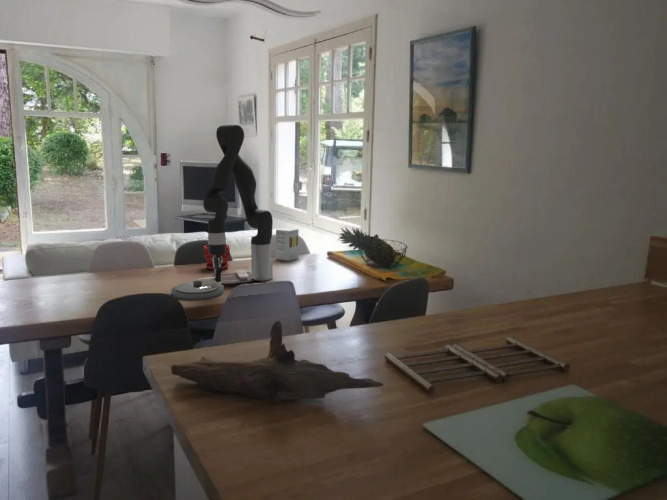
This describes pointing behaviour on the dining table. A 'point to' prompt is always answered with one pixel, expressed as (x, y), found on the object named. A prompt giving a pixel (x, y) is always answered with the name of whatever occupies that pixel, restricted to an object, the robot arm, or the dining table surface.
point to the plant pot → (209, 256)
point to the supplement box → (287, 244)
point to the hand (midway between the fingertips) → (218, 281)
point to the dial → (199, 286)
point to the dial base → (199, 295)
